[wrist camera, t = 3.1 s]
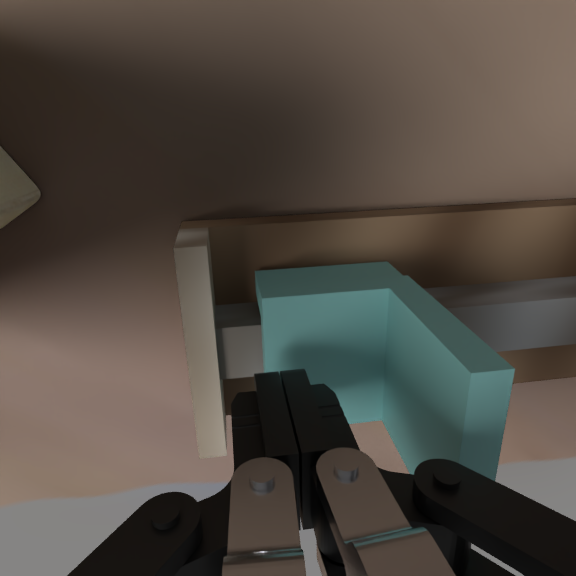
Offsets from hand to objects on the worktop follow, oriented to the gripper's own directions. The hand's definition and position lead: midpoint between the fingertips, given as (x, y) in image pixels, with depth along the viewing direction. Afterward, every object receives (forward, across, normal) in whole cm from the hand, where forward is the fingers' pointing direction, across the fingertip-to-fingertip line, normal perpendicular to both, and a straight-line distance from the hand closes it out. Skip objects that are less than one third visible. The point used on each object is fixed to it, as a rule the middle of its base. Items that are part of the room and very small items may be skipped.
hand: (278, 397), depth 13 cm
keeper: (+4, -2, 0) cm, 5 cm away
